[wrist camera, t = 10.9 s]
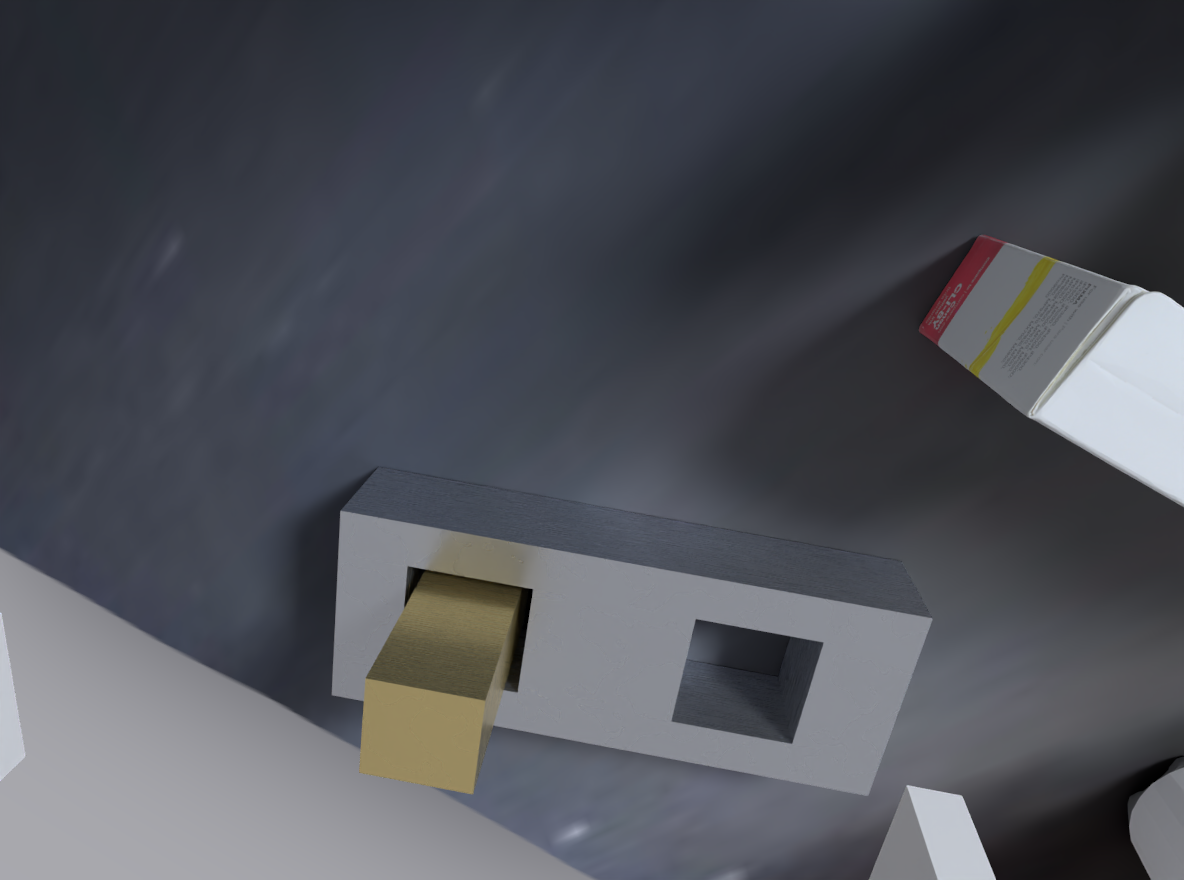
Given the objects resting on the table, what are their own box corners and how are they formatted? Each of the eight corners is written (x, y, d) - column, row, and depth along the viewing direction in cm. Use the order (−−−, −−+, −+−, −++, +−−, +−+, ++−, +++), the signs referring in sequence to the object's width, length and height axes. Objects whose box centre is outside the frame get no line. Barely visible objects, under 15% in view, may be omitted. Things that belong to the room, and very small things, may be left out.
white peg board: (378, 466, 40) (340, 510, 35) (901, 560, 39) (932, 618, 35) (367, 635, 44) (331, 695, 39) (846, 724, 43) (868, 795, 38)
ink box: (910, 330, 35) (1019, 419, 24) (981, 228, 34) (1133, 274, 23) (1071, 421, 36) (1248, 547, 25) (1149, 326, 35) (1375, 417, 24)
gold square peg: (447, 529, 41) (365, 678, 30) (535, 545, 41) (485, 700, 30) (440, 605, 43) (359, 772, 31) (524, 620, 42) (472, 794, 31)
